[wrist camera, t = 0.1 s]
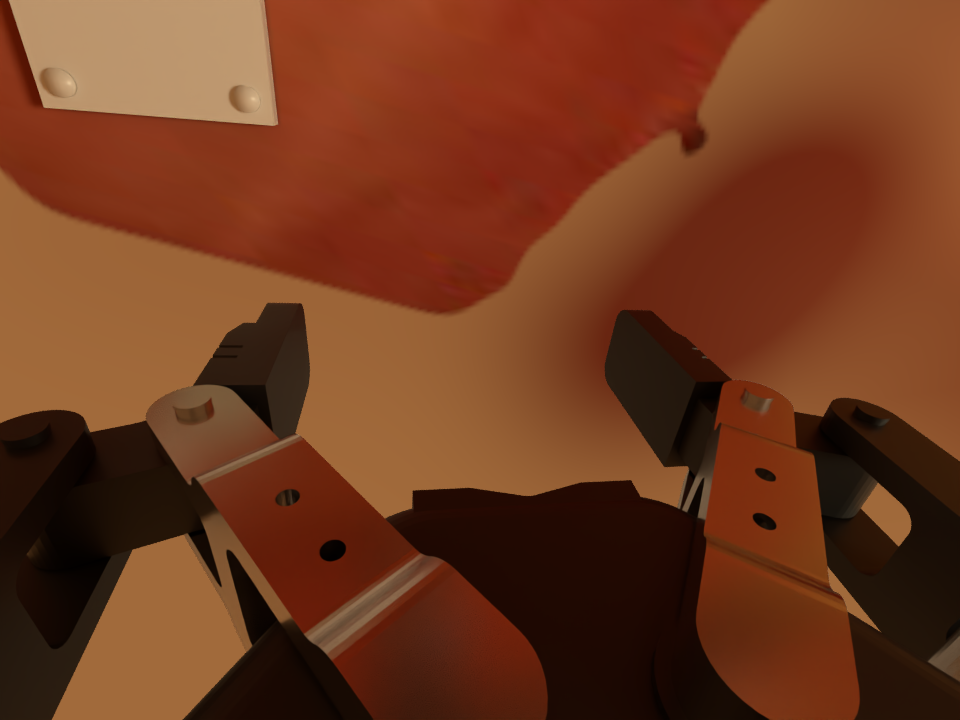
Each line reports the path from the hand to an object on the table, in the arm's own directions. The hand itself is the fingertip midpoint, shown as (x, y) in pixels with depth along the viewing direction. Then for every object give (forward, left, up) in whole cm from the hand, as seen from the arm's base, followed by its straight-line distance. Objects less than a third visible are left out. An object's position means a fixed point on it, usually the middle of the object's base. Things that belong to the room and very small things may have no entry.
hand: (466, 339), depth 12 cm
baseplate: (-9, -17, -29) cm, 35 cm away
